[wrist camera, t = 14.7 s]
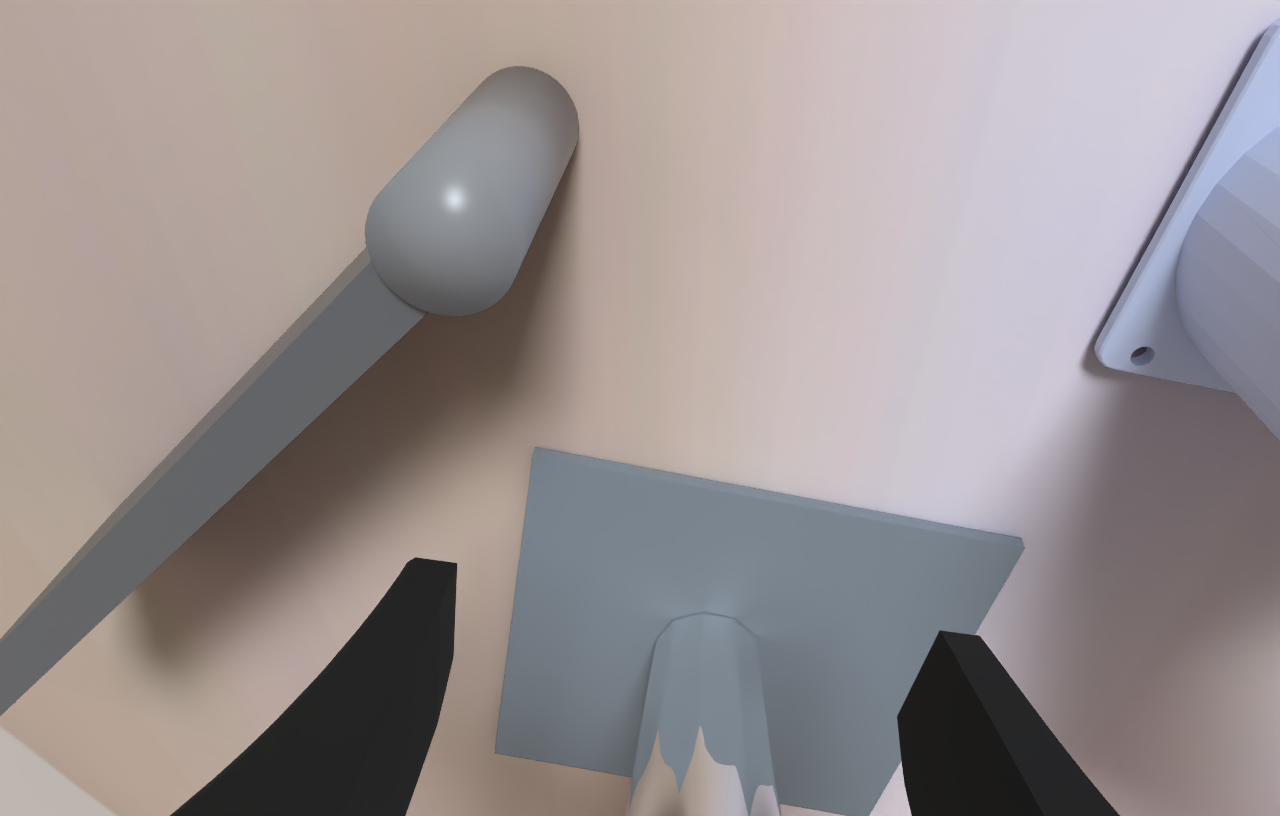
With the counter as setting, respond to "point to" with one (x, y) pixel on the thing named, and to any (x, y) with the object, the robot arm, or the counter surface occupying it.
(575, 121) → the grey rectangular panel
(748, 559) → the mat
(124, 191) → the counter surface
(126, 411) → the counter surface
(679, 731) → the milkshake
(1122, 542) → the counter surface
